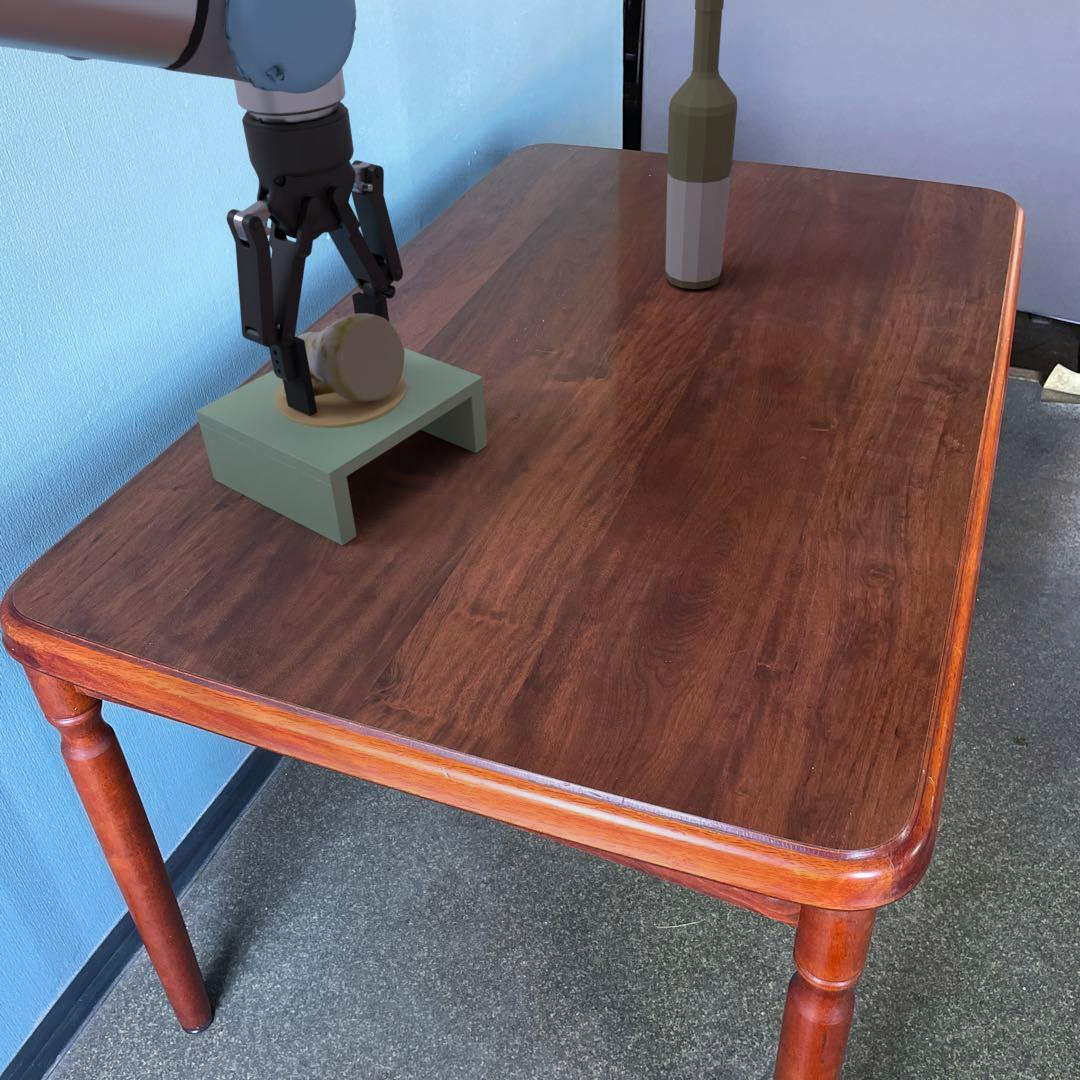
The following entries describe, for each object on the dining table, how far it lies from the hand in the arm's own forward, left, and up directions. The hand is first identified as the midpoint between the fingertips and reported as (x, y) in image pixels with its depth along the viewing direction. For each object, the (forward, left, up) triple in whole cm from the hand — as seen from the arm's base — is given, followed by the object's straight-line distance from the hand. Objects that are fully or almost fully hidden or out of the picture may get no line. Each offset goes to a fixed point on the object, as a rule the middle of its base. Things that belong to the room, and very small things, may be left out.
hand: (340, 387), depth 90 cm
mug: (0, 0, 0) cm, 0 cm away
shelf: (0, 0, -8) cm, 8 cm away
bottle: (+5, +49, -8) cm, 50 cm away
